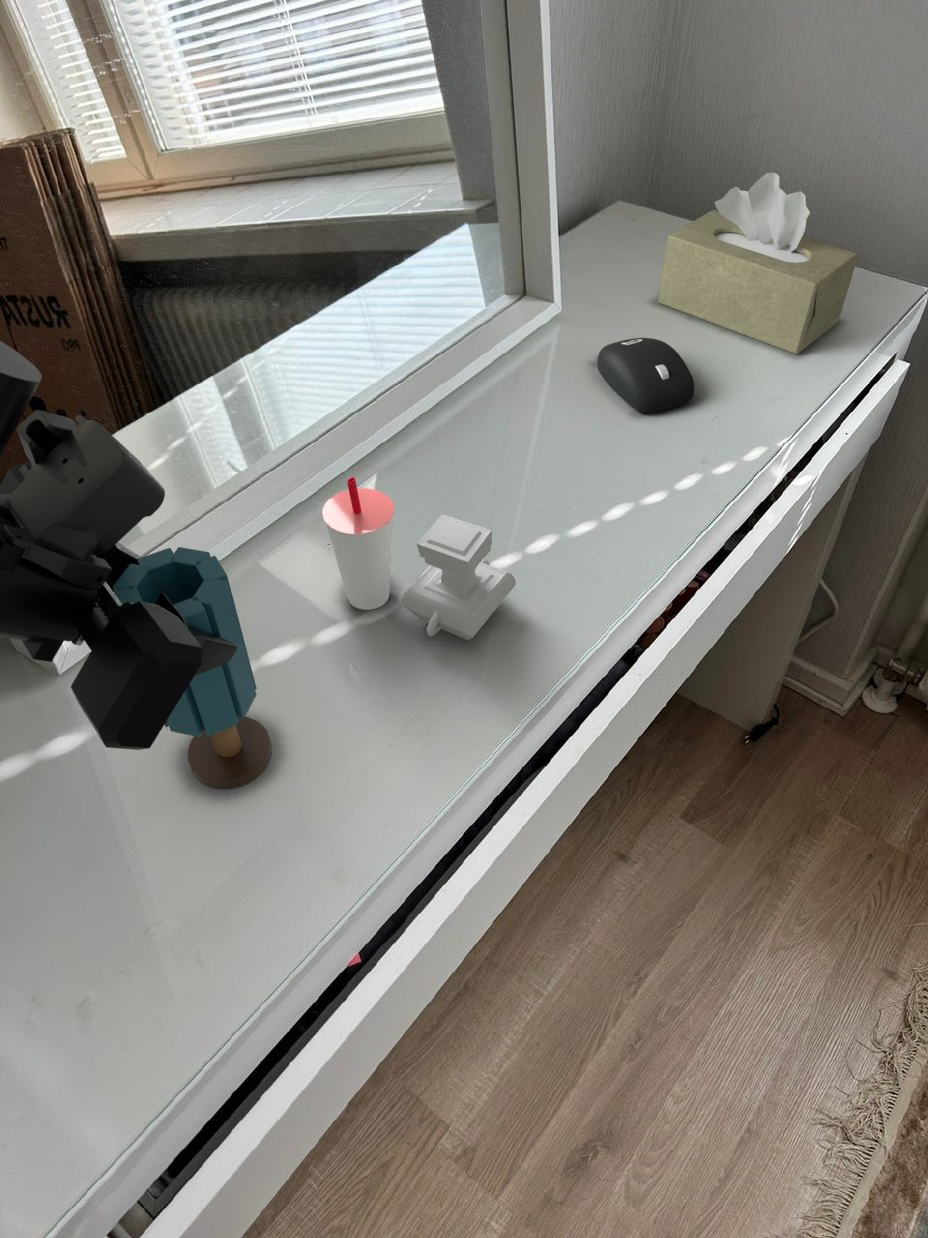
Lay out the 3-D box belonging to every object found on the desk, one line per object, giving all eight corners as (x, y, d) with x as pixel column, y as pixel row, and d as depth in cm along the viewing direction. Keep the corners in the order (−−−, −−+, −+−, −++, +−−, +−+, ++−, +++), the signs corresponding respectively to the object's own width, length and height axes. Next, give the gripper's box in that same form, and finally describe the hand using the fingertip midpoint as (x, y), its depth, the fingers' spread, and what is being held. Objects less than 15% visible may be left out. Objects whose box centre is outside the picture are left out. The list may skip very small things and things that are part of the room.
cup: (330, 617, 73) (310, 498, 64) (341, 571, 77) (324, 453, 68) (397, 620, 73) (386, 501, 64) (404, 574, 76) (395, 456, 68)
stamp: (466, 669, 69) (465, 588, 63) (393, 636, 72) (385, 556, 65) (522, 596, 74) (526, 516, 68) (452, 568, 77) (450, 488, 71)
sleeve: (176, 750, 55) (132, 637, 48) (146, 685, 59) (101, 570, 52) (269, 710, 57) (240, 596, 50) (234, 649, 61) (203, 535, 54)
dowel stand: (207, 803, 61) (187, 750, 57) (179, 745, 65) (157, 691, 60) (285, 766, 63) (270, 712, 59) (253, 711, 67) (237, 657, 62)
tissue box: (654, 302, 109) (675, 161, 97) (698, 273, 114) (723, 136, 102) (799, 356, 100) (841, 209, 88) (840, 323, 105) (885, 179, 93)
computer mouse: (639, 348, 101) (644, 314, 99) (701, 402, 94) (709, 368, 91) (580, 363, 99) (583, 329, 96) (638, 420, 92) (644, 385, 89)
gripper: (101, 518, 35) (367, 598, 47) (-49, 328, 45) (202, 435, 58) (-28, 746, 37) (258, 765, 50) (-143, 515, 48) (118, 579, 60)
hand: (207, 622), depth 54 cm, fingers closed on sleeve, 6 cm apart
